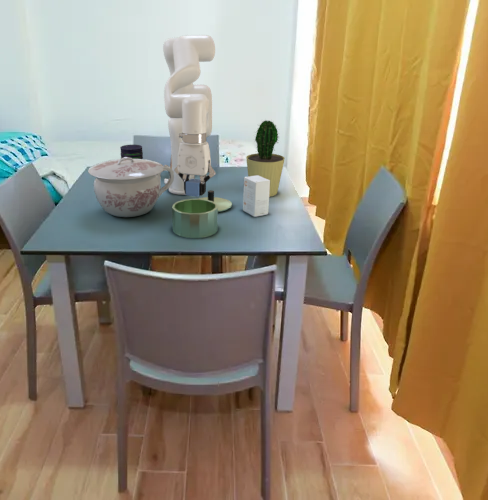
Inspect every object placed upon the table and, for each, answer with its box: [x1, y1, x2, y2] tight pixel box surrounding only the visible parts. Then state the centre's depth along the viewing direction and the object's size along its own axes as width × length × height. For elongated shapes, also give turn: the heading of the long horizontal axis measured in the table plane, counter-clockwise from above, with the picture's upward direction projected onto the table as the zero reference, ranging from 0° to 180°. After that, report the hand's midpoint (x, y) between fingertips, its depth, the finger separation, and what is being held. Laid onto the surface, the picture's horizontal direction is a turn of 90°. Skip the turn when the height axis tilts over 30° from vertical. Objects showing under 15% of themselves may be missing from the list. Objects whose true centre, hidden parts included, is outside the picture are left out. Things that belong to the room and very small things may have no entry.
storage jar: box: [120, 144, 144, 159], centre depth 219 cm, size 10×10×15 cm
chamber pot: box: [87, 157, 174, 218], centre depth 180 cm, size 28×28×21 cm
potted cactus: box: [245, 119, 286, 198], centre depth 197 cm, size 15×15×30 cm
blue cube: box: [185, 178, 201, 198], centre depth 161 cm, size 4×4×4 cm
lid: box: [197, 189, 233, 213], centre depth 187 cm, size 16×16×6 cm
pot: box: [171, 198, 219, 239], centre depth 165 cm, size 15×15×8 cm
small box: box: [242, 175, 270, 218], centre depth 179 cm, size 8×6×13 cm
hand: (194, 193), depth 162 cm, fingers closed on blue cube, 4 cm apart
